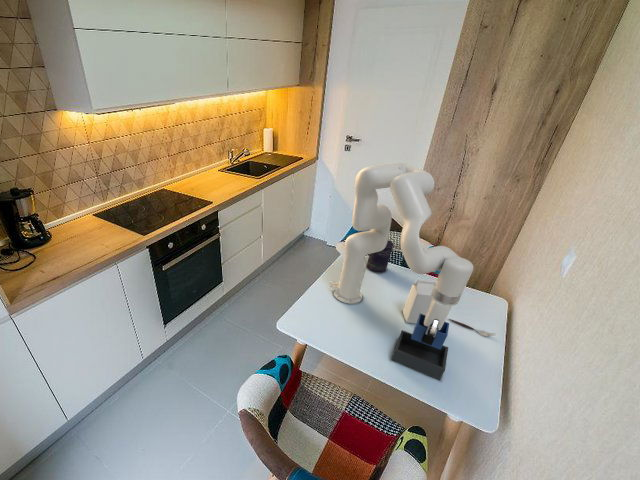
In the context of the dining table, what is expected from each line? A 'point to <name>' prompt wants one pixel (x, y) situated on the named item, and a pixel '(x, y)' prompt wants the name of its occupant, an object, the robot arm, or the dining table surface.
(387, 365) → the dining table surface
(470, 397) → the dining table surface
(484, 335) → the fork
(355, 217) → the robot arm
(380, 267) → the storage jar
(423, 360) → the base bin
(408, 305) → the milk carton
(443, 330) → the nested bin
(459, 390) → the dining table surface
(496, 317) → the dining table surface
